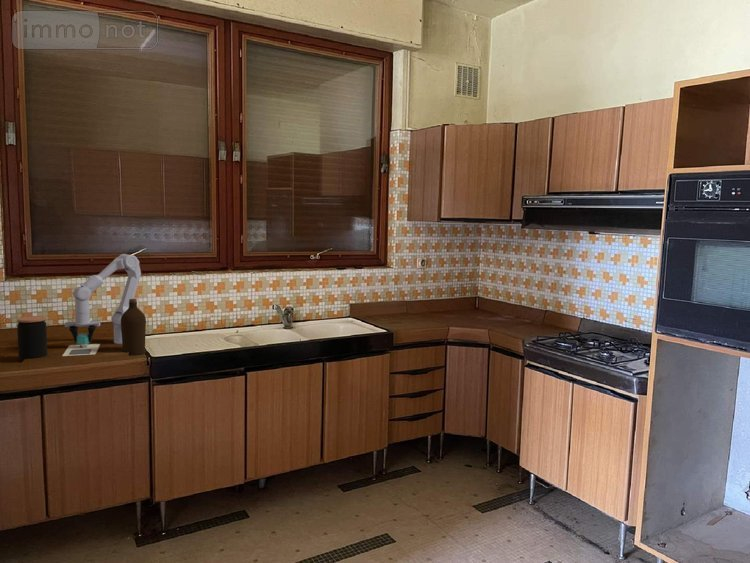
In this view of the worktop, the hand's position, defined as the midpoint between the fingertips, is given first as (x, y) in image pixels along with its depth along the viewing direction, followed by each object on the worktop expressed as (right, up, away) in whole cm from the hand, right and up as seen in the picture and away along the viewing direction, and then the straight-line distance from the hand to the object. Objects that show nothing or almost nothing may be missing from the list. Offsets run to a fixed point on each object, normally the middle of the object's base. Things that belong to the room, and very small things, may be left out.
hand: (83, 341), depth 258 cm
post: (0, -3, 0) cm, 2 cm away
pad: (+4, -4, -9) cm, 10 cm away
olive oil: (+24, -5, -2) cm, 25 cm away
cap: (0, -1, 0) cm, 0 cm away
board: (+2, -5, -4) cm, 6 cm away
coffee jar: (-13, -6, -17) cm, 22 cm away
